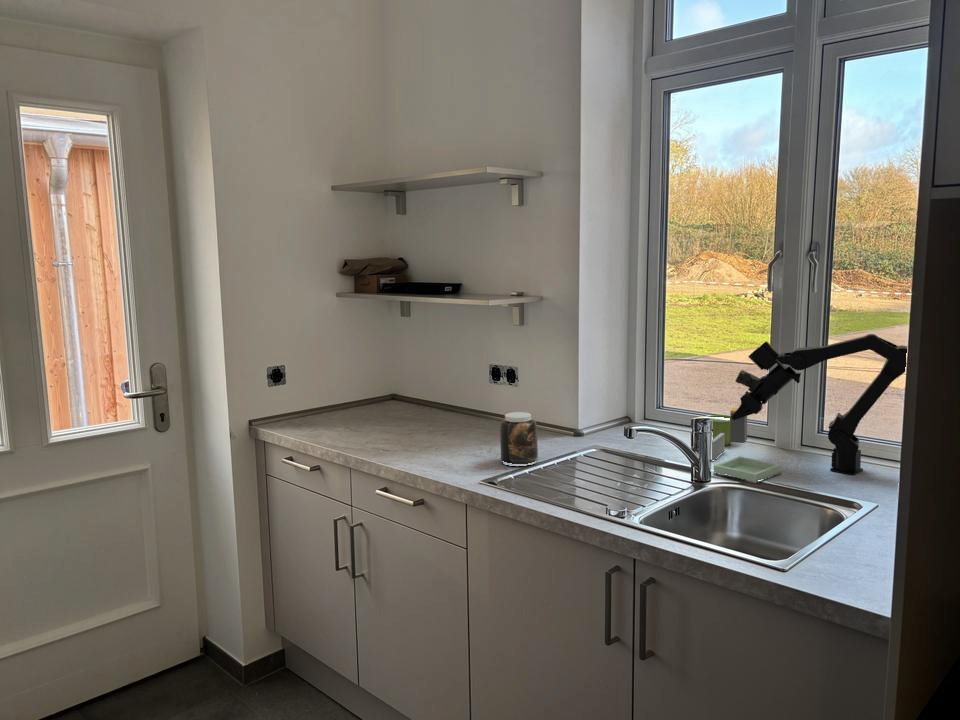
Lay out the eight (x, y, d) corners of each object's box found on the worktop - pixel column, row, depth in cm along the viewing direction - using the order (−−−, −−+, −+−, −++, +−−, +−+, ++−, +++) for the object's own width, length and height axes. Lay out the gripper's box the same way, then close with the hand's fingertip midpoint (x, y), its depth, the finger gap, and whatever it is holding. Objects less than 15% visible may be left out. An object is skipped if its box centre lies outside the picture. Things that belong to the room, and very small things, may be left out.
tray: (780, 473, 209) (781, 464, 209) (755, 483, 201) (755, 474, 201) (739, 464, 219) (739, 456, 219) (713, 473, 211) (713, 465, 211)
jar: (492, 463, 231) (491, 415, 229) (517, 455, 239) (515, 409, 237) (522, 469, 223) (520, 420, 221) (546, 460, 231) (544, 413, 229)
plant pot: (738, 447, 238) (738, 421, 237) (707, 447, 240) (707, 420, 239) (734, 440, 247) (734, 414, 246) (704, 440, 249) (705, 414, 248)
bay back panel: (724, 451, 233) (724, 433, 233) (713, 461, 223) (713, 441, 223) (720, 451, 234) (720, 432, 233) (709, 460, 224) (709, 441, 223)
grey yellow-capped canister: (747, 439, 223) (747, 408, 222) (744, 443, 219) (744, 411, 217) (733, 438, 225) (733, 407, 224) (730, 442, 221) (730, 410, 219)
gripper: (757, 357, 225) (719, 391, 232) (748, 366, 209) (708, 403, 215) (785, 384, 222) (746, 418, 229) (778, 395, 206) (736, 431, 213)
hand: (734, 416), depth 221 cm, fingers closed on grey yellow-capped canister, 5 cm apart
